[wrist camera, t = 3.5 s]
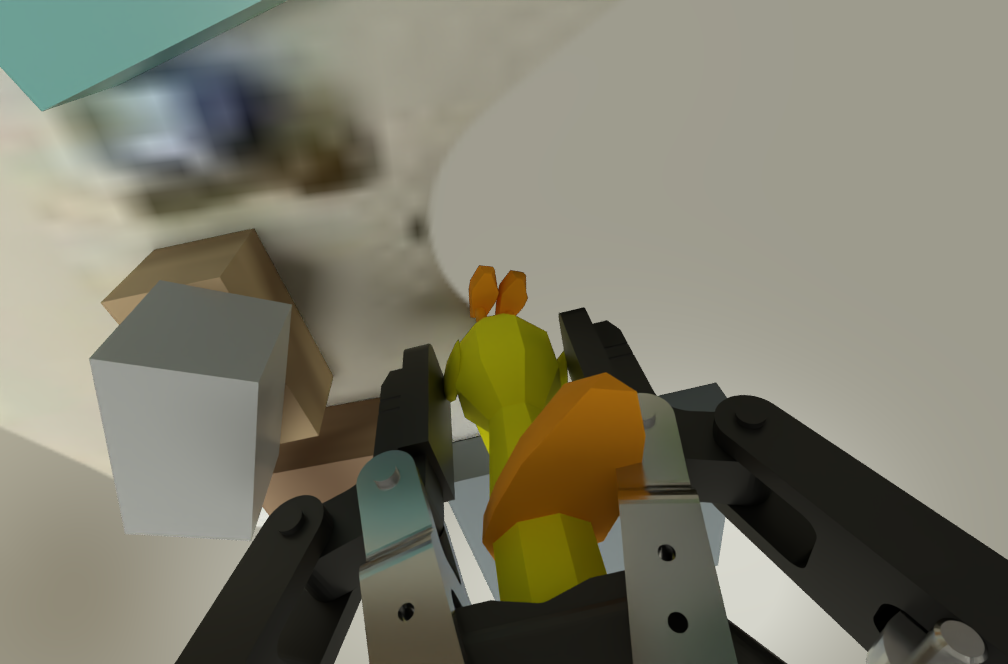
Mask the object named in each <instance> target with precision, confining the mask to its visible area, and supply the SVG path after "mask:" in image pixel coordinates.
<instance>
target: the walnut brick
mask: <svg viewBox="0 0 1008 664" xmlns="http://www.w3.org/2000/svg"><path fill="white" fill-rule="evenodd" d="M379 403H380V398H374V399H368V400H363V401H357V402H352V403H346V404H341V405H335V406H329V407H326V408H325V412H324V416H323V420H322V424H321V428H320V432H319V436H315V437H310V438H305V439H301V440H296V441H291V442H286V443H282V444H280V447H279V456H278V459H277V462H276V465H275V468H274V471H273V474H272V477H271V481H270V484H269V487H268V490H267V493H266V496H265V499H264V502H263V505H262V507H263V508H264V509H265V511H266V512H267V513H268V515H269V516H270V515H271V514H272V512H273V511H274V510H275V509H276V508H278V507H279V506H280V505H281V504H283V503H284V502H286V501H288V500H289V499H292V498H294V497H297V496H301V495H311V496H314V497H317V498H318V499H319V500H320V501H321V502H322V503H324V502H326V501H328V500H330V499H331V498H333V497H335V496H337V495H339V494H341V493H343V492H345V491H346V490H348V489H350V488H351V487H353V486H354V485H355V484H356V483H357V478H358V475H359V473H360V471H361V470H362V468H363V467H364V466H365V464H366V463H367V462H368V461H370V460H371V459H372V458H373V454H374V445H375V437H376V428H377V420H378V415H379V412H378V411H379Z"/></svg>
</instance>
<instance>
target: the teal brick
mask: <svg viewBox="0 0 1008 664" xmlns="http://www.w3.org/2000/svg"><path fill="white" fill-rule="evenodd" d="M285 1H287V0H0V67H1V68H2V69H3V70H4V71H5V72H6V73H7V74H8V76H9V77H10V78H11V79H12V80H13V81H14V82H15V83H16V84H17V85H18V86H19V87H20V89H21V90H22V91H23V92H24V93H25V94H26V95H27V96H28V97H29V98H30V99H31V100H32V101H33V103H34V104H35V105H36V106H37V107H38V108H39V109H40V110H41V111H45V110H48V109H50V108H53V107H56V106H59V105H62V104H65V103H68V102H71V101H74V100H77V99H80V98H83V97H85V96H88V95H91V94H94V93H97V92H100V91H103V90H106V89H109V88H112V87H115V86H117V85H120V84H122V83H124V82H126V81H128V80H130V79H132V78H134V77H136V76H138V75H140V74H142V73H144V72H146V71H148V70H150V69H152V68H154V67H156V66H158V65H160V64H162V63H164V62H166V61H168V60H170V59H172V58H174V57H176V56H178V55H180V54H182V53H184V52H186V51H187V50H189V49H191V48H193V47H195V46H197V45H199V44H201V43H203V42H205V41H207V40H209V39H211V38H213V37H215V36H217V35H219V34H221V33H223V32H225V31H227V30H229V29H231V28H233V27H235V26H237V25H239V24H241V23H243V22H245V21H247V20H249V19H251V18H253V17H255V16H257V15H259V14H261V13H263V12H265V11H267V10H269V9H271V8H273V7H275V6H277V5H279V4H281V3H283V2H285Z"/></svg>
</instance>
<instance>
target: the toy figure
mask: <svg viewBox="0 0 1008 664" xmlns="http://www.w3.org/2000/svg"><path fill="white" fill-rule="evenodd" d="M527 299H528V297H527V293H526V275H525V274H524V273H523V272H519V271H512V270H510V271H509V273H508V274H507V275H506V277H505V278H504V279H503V280H502V282H501V283H500V285H499V289H498V288H497V282H496V275H495V270H494V268H493V267H490V266H480V265H479V266H478V268H477V270H476V271H475V273H474V275H473V277H472V278H471V280H470V285H469V304H470V317H471V318H476V322H477V323H475V324H474V326H473V327H472V328H471V329H470V331H469V332H468V333H467V334H466V336H465V337H464V338H463V339H462V341H461V342H460V343H459V339H458V341H457V342H456V343H455V345H454V348H453V350H452V352H451V354H450V356H449V358H448V361H447V364H446V369H445V373H444V377H443V381H444V393H445V397H446V400H448V401H450V402H452V401H454V400H456V397H457V395H458V397H459V400H460V403H461V406H462V410H463V413H464V416H465V418H467V419H468V420H470V421H471V422H473V423H475V424H476V426H477V428H478V430H479V433H480V435H481V437H482V439H483V442H484V444H485V446H486V448H487V451H488V453H489V490H490V499H489V502H488V504H487V507H486V510H485V513H484V515H483V535H482V543H483V544H484V546H485V547H486V549H487V550H488V552H489V553H490V555H491V556H492V557H493V559H494V560H495V565H496V573H497V580H498V588H499V595H500V601H510V602H527V603H543V602H546V601H548V600H550V599H552V598H554V597H556V596H558V595H559V594H561V593H563V592H565V591H567V590H569V589H571V588H572V587H574V586H576V585H578V584H580V583H582V582H583V581H585V580H587V579H589V578H592V577H596V576H601V575H605V574H607V572H606V569H605V565H604V562H603V559H602V556H601V553H600V550H599V546H598V543H600V542H603V541H604V540H605V538H606V536H607V535H608V533H609V532H610V530H611V528H612V527H613V525H614V523H615V522H616V520H617V519H618V517H619V515H620V511H619V500H618V488H617V476H616V468H620V467H624V466H629V465H633V464H637V463H641V462H642V458H643V451H644V444H645V437H646V436H645V430H644V425H643V420H642V415H641V410H640V405H639V400H638V395H637V391H635V390H634V389H632V388H630V387H629V386H627V385H626V384H624V383H622V382H621V381H619V380H618V379H616V378H615V377H613V376H611V375H610V374H608V373H606V372H605V373H601V374H598V375H594V376H590V377H587V378H583V379H580V380H576V381H572V382H569V383H568V373H567V372H568V371H567V370H568V368H567V362H566V358H565V354H564V351H563V352H562V353H561V355H560V356H559V357H558V359H557V360H556V357H555V354H554V351H553V349H552V346H551V343H550V340H549V337H548V335H547V332H546V331H544V330H542V329H540V328H538V327H536V326H535V325H533V324H531V323H529V322H527V321H525V320H523V319H521V318H519V317H517V316H516V315H517V314H518V313H519V312H520V311H521V309H522V308H523V307H524V305H525V303H526V301H527ZM495 302H496V311H495V315H493V316H489V317H487V314H488V313H489V311H490V310H491V308H492V307H493V305H494V304H495Z"/></svg>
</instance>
